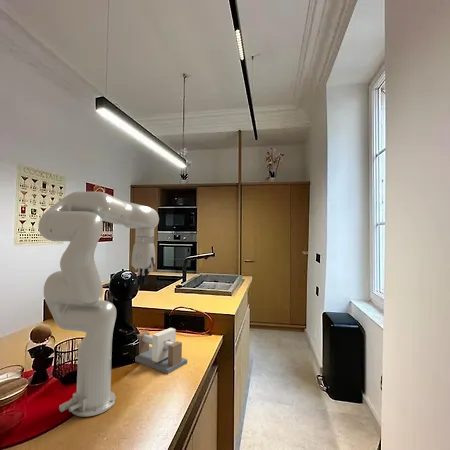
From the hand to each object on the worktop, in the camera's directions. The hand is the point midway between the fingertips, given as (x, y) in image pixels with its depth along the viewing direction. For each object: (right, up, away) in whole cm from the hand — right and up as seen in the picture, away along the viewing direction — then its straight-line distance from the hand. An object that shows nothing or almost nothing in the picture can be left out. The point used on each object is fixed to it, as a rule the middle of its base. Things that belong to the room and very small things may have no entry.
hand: (143, 284), depth 122 cm
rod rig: (+7, -31, -3) cm, 32 cm away
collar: (+10, -28, -5) cm, 30 cm away
